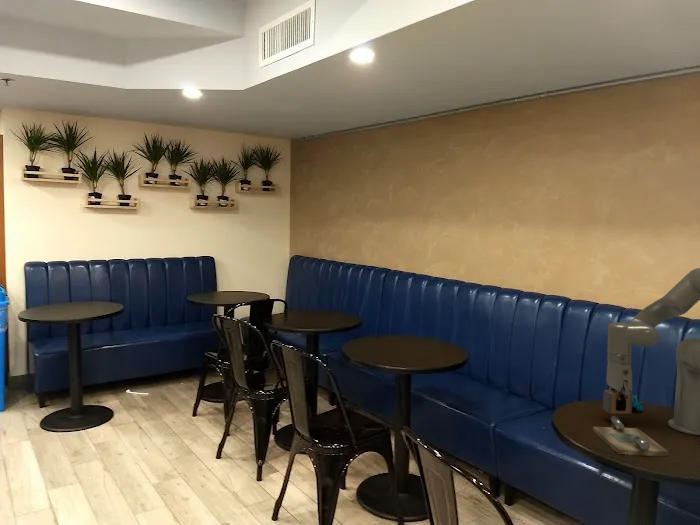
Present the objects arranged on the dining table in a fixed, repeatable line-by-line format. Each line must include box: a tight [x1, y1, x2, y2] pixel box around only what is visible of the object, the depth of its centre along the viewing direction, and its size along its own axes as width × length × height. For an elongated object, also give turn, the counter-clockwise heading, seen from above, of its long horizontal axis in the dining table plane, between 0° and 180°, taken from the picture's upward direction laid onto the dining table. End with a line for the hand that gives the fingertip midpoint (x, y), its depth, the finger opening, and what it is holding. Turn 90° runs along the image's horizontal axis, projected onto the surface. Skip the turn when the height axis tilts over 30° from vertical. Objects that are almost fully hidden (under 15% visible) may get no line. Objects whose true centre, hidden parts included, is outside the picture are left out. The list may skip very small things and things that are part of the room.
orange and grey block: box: [602, 389, 633, 415], centre depth 186 cm, size 8×4×7 cm, turn 88°
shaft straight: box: [633, 436, 650, 451], centre depth 161 cm, size 2×5×2 cm, turn 178°
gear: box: [621, 389, 644, 412], centre depth 201 cm, size 11×6×10 cm
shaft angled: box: [610, 415, 626, 431], centre depth 176 cm, size 2×5×4 cm, turn 178°
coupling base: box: [592, 421, 669, 457], centre depth 169 cm, size 15×18×3 cm
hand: (617, 407), depth 186 cm, fingers closed on orange and grey block, 4 cm apart
